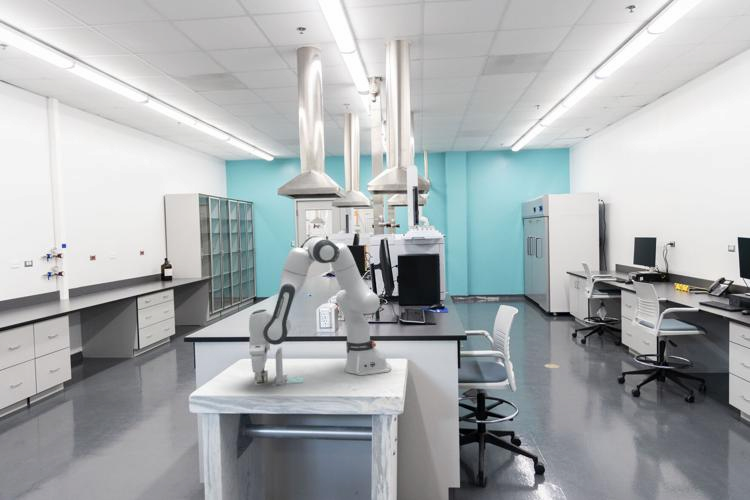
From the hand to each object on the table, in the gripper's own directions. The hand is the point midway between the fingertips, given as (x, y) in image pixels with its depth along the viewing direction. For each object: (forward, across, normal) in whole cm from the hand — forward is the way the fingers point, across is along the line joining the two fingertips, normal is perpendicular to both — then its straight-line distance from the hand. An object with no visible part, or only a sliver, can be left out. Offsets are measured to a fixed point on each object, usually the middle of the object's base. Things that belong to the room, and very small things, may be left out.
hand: (260, 376), depth 204 cm
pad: (+3, 0, +15) cm, 15 cm away
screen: (+3, -1, +8) cm, 9 cm away
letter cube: (+3, 0, 0) cm, 3 cm away
